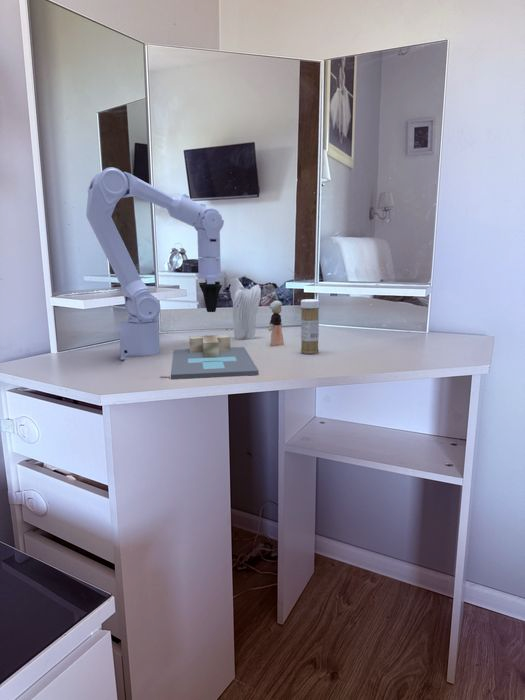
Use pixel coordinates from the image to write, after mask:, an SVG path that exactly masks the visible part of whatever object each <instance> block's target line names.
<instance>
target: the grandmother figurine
mask: <svg viewBox="0 0 525 700" xmlns="http://www.w3.org/2000/svg"><path fill="white" fill-rule="evenodd" d="M282 306H283V303H282V301H280V300H273V301H272V302H271V303H270V305H268V307H269V309H270V310H271V312H272V315H271V317H270V321H269V328H268V331H269V332H271V333H270V346H273V347H276V346H284V345H285V343H284V335H283V330H282V326H283V323H282V315H281V314H280V313H282Z"/></svg>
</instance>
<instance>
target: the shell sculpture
mask: <svg viewBox="0 0 525 700" xmlns="http://www.w3.org/2000/svg"><path fill="white" fill-rule="evenodd" d="M229 285H230V286H229V293H230V299H231V302H232V314H233V315H232V317H233V320H232V321H233V334H234V335H233V336H234V339H237V340H252V339H255V338H256V322H257V313H258V310H259V306H260V302H261V301H260V300H261V292H262V290H261V287H260V284H259V283H258V284H255V285H253V286H251V287H250V288H245V286H243V284H242V282H240V280H239V278H238V277H235V278H231V279H230V280H229Z"/></svg>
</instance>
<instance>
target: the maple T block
mask: <svg viewBox="0 0 525 700" xmlns="http://www.w3.org/2000/svg"><path fill="white" fill-rule="evenodd" d="M188 339H189V345H188V346H189V349H190V353H194V352H203V355H204V358H207V357H219V351H230V347H231V336H230V335H229V334H215V335H214V334H213V335H192V336H191V335H189V338H188Z"/></svg>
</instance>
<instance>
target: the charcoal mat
mask: <svg viewBox="0 0 525 700" xmlns="http://www.w3.org/2000/svg"><path fill="white" fill-rule="evenodd" d="M259 374H260V373H259V369H258V367H257V365H256V364H255V363H254V360H253V358H252V357H251V356H250V355H249V353H248V351H247V349H246V347H245V346H237V347H236V346H234V347H232V346H230V351H219V357H207V358H204V355H203V352H194V353H190V348H188V349H187V348H183V349H173V354H172V362H171V370H170V380H188V379H189V380H190V379H206V378H210V379H211V378H227V377H249V376H250V377H251V376H259Z"/></svg>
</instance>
